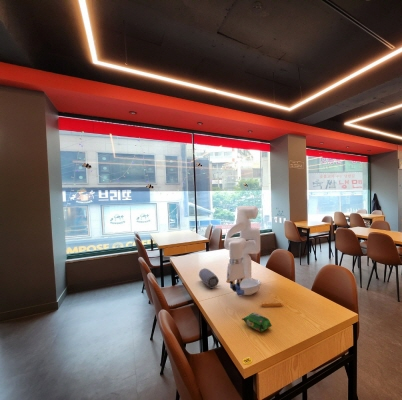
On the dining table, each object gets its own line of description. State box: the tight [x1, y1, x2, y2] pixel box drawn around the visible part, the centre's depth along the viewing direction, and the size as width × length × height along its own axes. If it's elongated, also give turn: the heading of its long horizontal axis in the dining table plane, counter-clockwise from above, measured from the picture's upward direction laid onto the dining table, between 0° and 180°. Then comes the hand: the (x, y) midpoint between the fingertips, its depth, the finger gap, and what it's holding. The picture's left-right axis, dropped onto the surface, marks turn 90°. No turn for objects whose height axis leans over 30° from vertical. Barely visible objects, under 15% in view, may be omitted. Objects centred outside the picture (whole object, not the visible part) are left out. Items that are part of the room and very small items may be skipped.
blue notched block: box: [229, 283, 245, 296], centre depth 139 cm, size 14×4×3 cm, turn 38°
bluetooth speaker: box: [198, 267, 219, 288], centre depth 173 cm, size 23×9×10 cm, turn 35°
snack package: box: [241, 312, 272, 333], centre depth 115 cm, size 7×16×5 cm, turn 52°
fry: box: [261, 301, 282, 308], centre depth 138 cm, size 12×2×2 cm, turn 93°
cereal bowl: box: [240, 278, 261, 296], centre depth 157 cm, size 17×17×7 cm
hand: (235, 290), depth 140 cm, fingers closed on blue notched block, 2 cm apart
